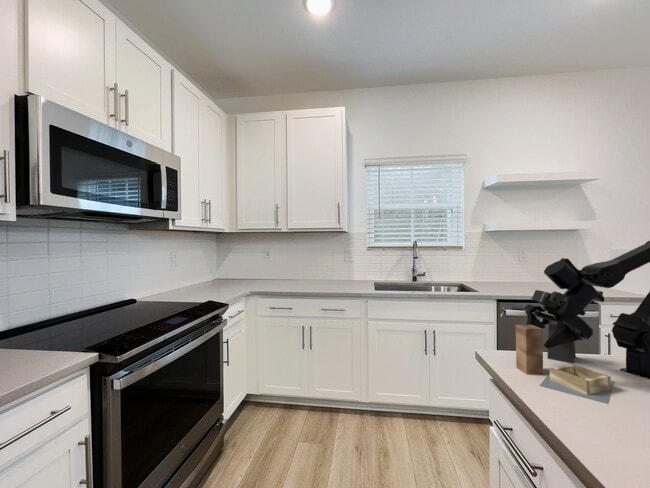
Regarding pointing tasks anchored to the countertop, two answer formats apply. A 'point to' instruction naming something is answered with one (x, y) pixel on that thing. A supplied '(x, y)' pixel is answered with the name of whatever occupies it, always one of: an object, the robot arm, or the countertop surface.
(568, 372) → the maple socket
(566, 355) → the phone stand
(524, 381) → the countertop surface
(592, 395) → the slate board
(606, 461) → the countertop surface
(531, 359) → the walnut block
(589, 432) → the countertop surface
